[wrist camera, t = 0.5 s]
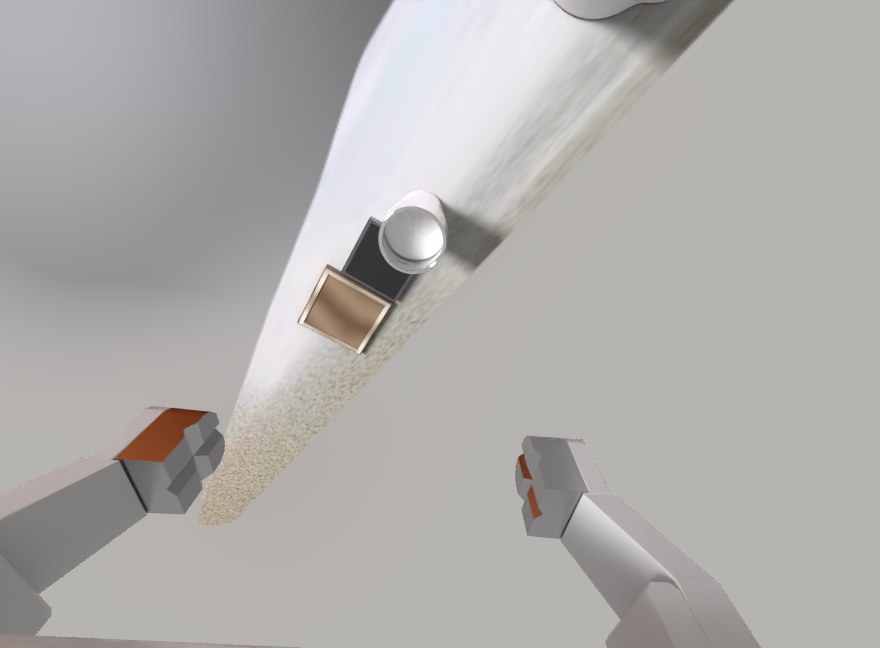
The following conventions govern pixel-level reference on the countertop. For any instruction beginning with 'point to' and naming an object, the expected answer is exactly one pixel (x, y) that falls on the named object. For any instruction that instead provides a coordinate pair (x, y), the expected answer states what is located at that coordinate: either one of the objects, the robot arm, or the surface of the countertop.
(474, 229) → the countertop surface
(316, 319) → the board
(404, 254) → the beer glass
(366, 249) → the ink pad
